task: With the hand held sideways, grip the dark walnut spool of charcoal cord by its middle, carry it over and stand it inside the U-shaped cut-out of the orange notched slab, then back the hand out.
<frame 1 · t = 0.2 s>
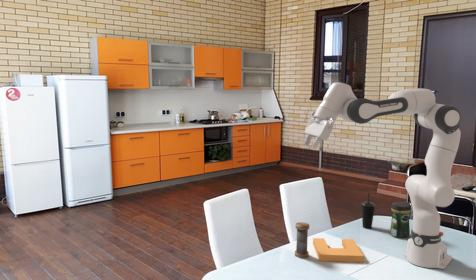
hand: (309, 146, 162), 54 cm above the table, tool tilted 30°, fingers open, 8 cm apart
drinking cup: (367, 227, 221), on the table
orange notched slab: (336, 252, 186), on the table
cord spool: (301, 255, 183), on the table
coffee jar: (399, 236, 209), on the table
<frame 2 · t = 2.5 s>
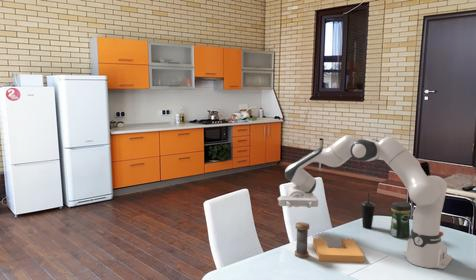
hand: (299, 206, 192), 20 cm above the table, tool horizontal, fingers open, 8 cm apart
nothing on the table moved.
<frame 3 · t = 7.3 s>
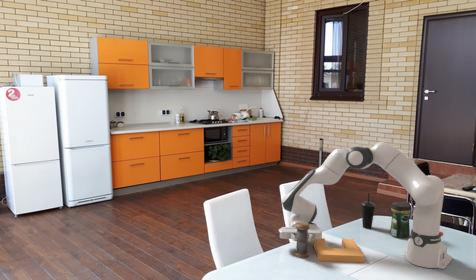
hand: (302, 239, 181), 8 cm above the table, tool horizontal, fingers closed on cord spool, 5 cm apart
cord spool: (301, 255, 183), on the table, touching gripper
everything else where it was.
when the fingers open (9 cm above the table, at t = 12.3 s): cord spool drops 1 cm, resting in orange notched slab.
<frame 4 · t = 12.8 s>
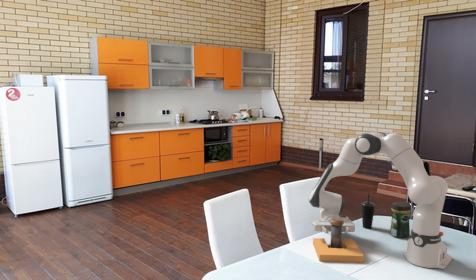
hand: (336, 231, 187), 9 cm above the table, tool horizontal, fingers open, 8 cm apart
cord spool: (335, 249, 189), resting in orange notched slab
everything else where it was.
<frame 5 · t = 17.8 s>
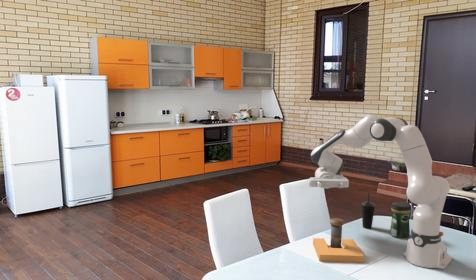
hand: (331, 186, 193), 30 cm above the table, tool horizontal, fingers open, 8 cm apart
nothing on the table moved.
at the end: cord spool 0.1 cm from the target spot on the orange notched slab, point 0.0 cm above the orange notched slab's base; cord spool tilted 0°; the gripper is holding nothing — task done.
